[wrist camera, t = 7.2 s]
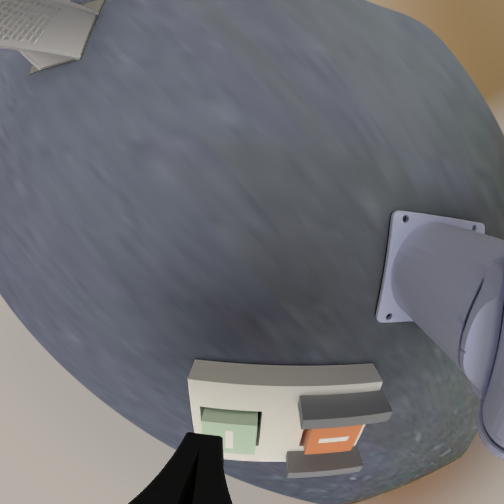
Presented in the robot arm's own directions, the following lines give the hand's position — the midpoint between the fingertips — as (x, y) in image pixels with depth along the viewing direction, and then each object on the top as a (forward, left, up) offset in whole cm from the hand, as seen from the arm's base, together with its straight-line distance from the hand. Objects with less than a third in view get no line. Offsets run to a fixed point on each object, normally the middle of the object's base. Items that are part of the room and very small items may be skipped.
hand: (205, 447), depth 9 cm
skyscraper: (+16, -24, -11) cm, 31 cm away
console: (-4, +8, -10) cm, 14 cm away
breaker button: (-8, +8, -10) cm, 15 cm away
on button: (0, +8, -10) cm, 13 cm away
